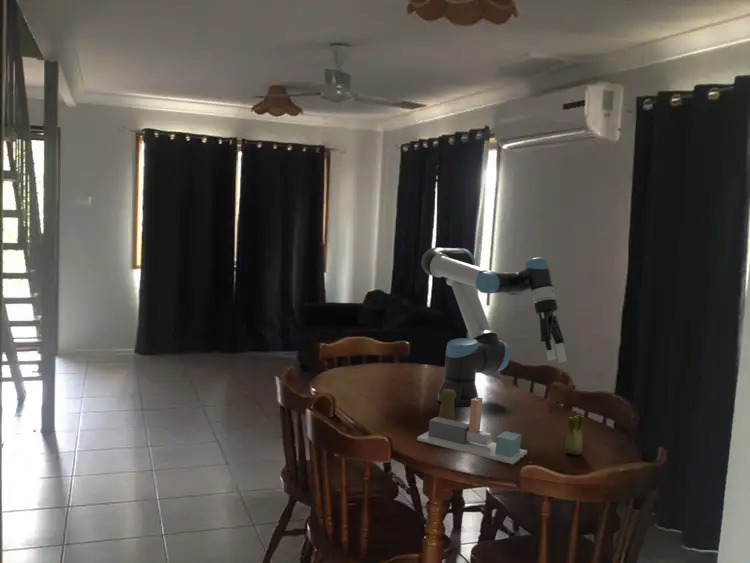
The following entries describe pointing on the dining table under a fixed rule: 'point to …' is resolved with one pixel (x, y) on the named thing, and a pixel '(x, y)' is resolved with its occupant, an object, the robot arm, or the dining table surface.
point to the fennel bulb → (574, 436)
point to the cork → (447, 404)
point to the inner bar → (476, 424)
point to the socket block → (508, 444)
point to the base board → (473, 448)
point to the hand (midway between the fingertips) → (557, 361)
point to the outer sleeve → (448, 430)
